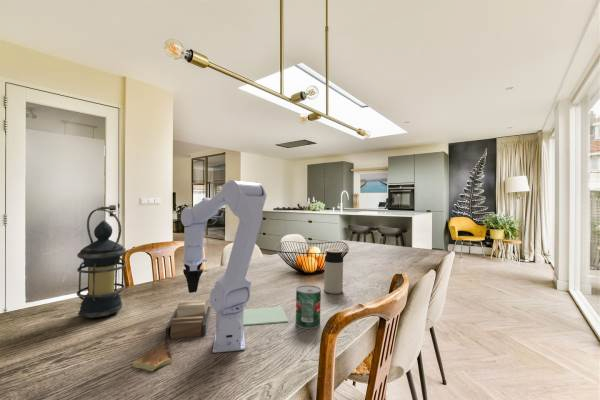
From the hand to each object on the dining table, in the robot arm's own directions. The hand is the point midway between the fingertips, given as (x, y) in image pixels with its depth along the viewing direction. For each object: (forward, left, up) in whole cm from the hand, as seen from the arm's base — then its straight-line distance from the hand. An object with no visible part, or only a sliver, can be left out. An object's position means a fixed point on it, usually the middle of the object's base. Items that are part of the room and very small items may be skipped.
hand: (192, 288), depth 87 cm
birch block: (0, 0, -10) cm, 10 cm away
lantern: (+11, +30, -11) cm, 34 cm away
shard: (-20, +6, -11) cm, 24 cm away
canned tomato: (-8, -36, -11) cm, 38 cm away
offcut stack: (-8, 0, -10) cm, 13 cm away
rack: (-3, 0, -10) cm, 11 cm away
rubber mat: (0, -20, -10) cm, 22 cm away
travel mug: (+21, -55, -11) cm, 60 cm away
